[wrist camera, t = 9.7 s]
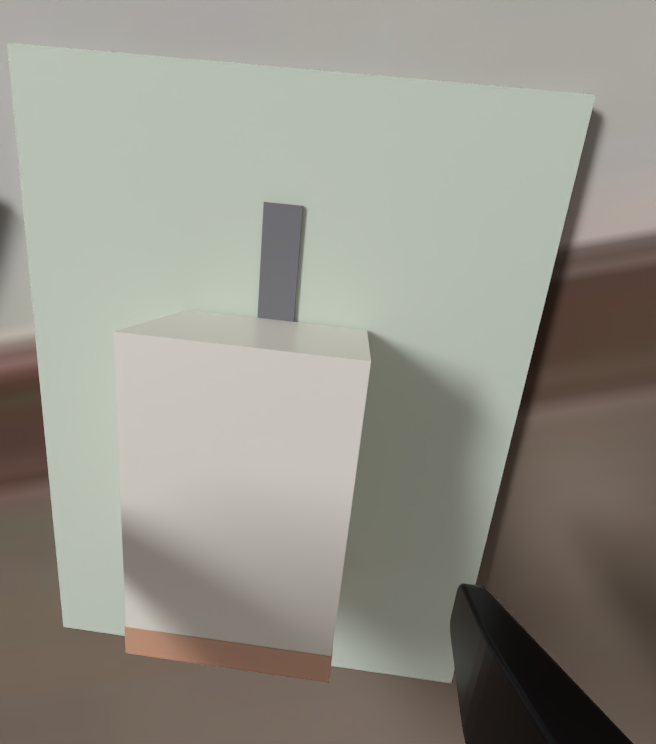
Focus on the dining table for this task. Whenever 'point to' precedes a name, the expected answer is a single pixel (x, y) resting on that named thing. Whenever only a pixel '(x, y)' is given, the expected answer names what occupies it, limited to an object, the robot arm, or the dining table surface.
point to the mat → (298, 290)
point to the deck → (237, 486)
